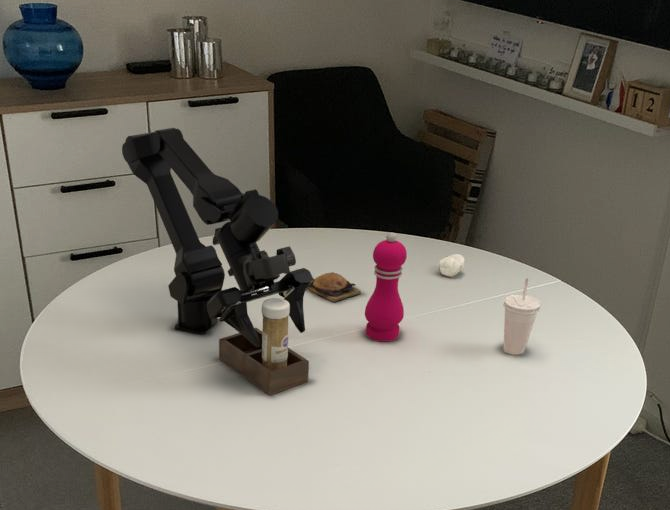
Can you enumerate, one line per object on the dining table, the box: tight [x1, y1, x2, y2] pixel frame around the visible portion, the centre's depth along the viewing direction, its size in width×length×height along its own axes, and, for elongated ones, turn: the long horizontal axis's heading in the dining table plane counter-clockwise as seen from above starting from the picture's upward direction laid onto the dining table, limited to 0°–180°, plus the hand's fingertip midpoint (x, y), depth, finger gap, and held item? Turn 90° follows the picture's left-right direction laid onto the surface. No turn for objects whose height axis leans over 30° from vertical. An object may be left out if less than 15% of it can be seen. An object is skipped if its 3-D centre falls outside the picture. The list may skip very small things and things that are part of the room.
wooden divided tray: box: [218, 327, 310, 396], centre depth 154 cm, size 15×8×4 cm, turn 35°
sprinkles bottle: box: [261, 297, 290, 371], centre depth 148 cm, size 5×5×14 cm
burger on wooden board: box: [307, 271, 362, 303], centre depth 183 cm, size 11×8×4 cm
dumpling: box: [438, 253, 466, 278], centre depth 192 cm, size 7×5×4 cm
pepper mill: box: [364, 232, 408, 342], centre depth 162 cm, size 7×7×20 cm
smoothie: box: [502, 276, 542, 356], centre depth 158 cm, size 6×6×14 cm
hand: (281, 338), depth 147 cm, fingers open, 9 cm apart
